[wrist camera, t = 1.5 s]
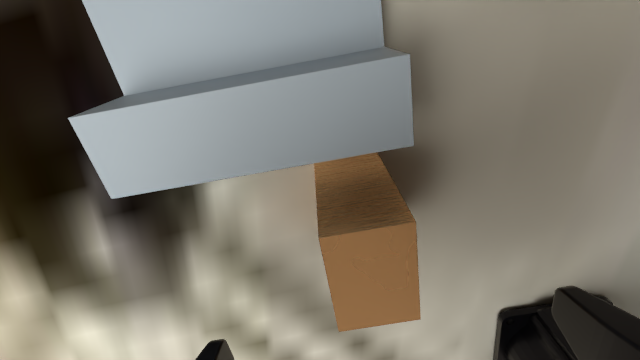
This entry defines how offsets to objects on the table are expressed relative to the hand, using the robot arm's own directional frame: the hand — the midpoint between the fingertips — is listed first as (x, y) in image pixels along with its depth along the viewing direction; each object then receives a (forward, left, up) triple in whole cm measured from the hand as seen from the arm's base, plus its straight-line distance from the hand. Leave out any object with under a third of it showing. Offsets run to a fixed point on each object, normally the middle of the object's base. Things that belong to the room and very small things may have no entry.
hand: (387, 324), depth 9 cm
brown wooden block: (0, 0, -8) cm, 8 cm away
